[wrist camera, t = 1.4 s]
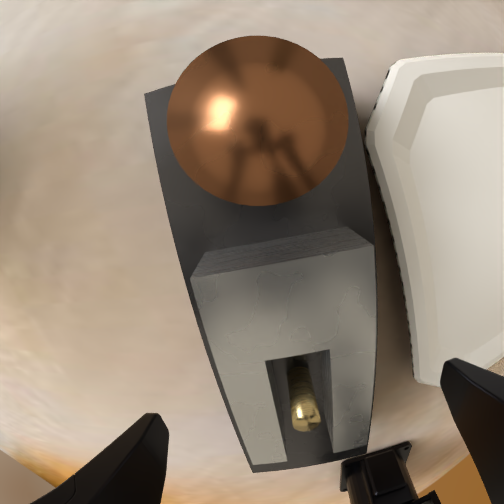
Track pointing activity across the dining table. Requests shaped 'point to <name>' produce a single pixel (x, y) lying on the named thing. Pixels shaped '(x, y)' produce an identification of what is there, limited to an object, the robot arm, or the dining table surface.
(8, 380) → the dining table surface
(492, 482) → the robot arm
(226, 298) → the lever cap
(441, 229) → the plate
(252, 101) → the body
